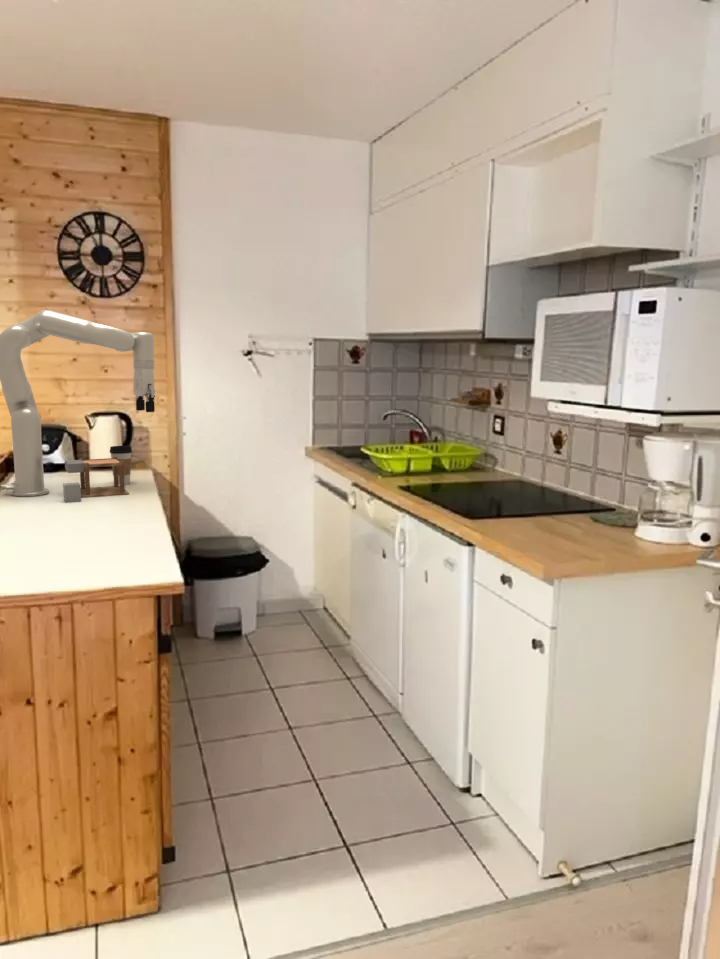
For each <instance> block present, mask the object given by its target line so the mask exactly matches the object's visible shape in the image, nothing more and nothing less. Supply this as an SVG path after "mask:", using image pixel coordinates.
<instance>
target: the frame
mask: <svg viewBox="0 0 720 959" xmlns="http://www.w3.org/2000/svg"><path fill="white" fill-rule="evenodd" d="M107 459H116V460H117V457H113V458H110V457H109V458H92V459H90V458H89V459H87V458H86V459H84V458H82V457H81V458H79V459H78V460H82V461H87V460H107ZM112 466H113V470H112V474H113V473H114V476H113V485H109V486H108V485H107V486H96V487H95V486H92V487H91V484H90V483H91V482H90V468H101V467H103V468H105V467H112ZM118 466H119V474H120V485H118ZM84 471H85V472H79V478H80V479H79V480H80V482H79V484H80V490H81V499H84V498H97V497H112V496H125V495H130V492H129V491H128V490H127V489H125V488H126V486H125V485H126V484H125V483H124V461H119V463H103V464H89V463H84Z"/></svg>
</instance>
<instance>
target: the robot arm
mask: <svg viewBox="0 0 720 959" xmlns="http://www.w3.org/2000/svg"><path fill="white" fill-rule="evenodd" d="M50 336H53V337H56V338H60V339H61V338H62V339H65V340H68V341H73V342H77V343H81V344H88V345H90V344H91V345H96V346H100V347H105V348H109V349H113V350H115V351H117V352H120V353H121V352H123V353H125V352H131V351H132V357H133V358H132V360H133V362H132V363H133V364H132V365H133V370H134V372H133V391H132V392H133V394H134V396H135V410H136V411H137V412H138V411H139V412H140V411H145V412H146V413H154V412H155V411H156V410H155V408H156V407H155V401H156V400H155V397H156V395H155V394H156V393H155V392H156V390H155V389H156V388H155V376H154V370H155V344H154V335H153V333H151V332H147V331H146V332H145V331H144V332H143V331H137V332H136V331H135V332H129V331H127V330H125V329H120V328H116V327H113V326H110V325H109V326H108V325H104V324H102V323H98V322H94V321H91V320H88V319H85V318H81V317H76V316H73V315H70V314H65V313H62V312H58V311H55V310H51V309H50V310H49V309H42V310H40V311H39V312H37V313H36V314H34V315H33V316H31V317H29V318H27V319H25V320H23V321H20V322H19V323H17V324H12V325H9V326H8V327H6V328H5V329H4V330H2V332H1V333H0V384H1V391H2V394H3V396H4V399H5V402H6V405H7V408H8V412H9V416H10V418H11V419H10V422H11V423H10V424H11V436H12V438H11V439H12V449H13V450H12V451H13V452H12V453H13V464H14V467H13V468H14V480H13V482H11V483H9V484H8V483H3V484H1V490H3V491H4V490H6V491H8V490H9V491H10V490H11V491H10V492H11V493H10V494H11V495H12V496H14V497H37V496H43V495H47V494H49V493H50V489H49V488H48V487H45V474H44V458H43V443H42V441H43V440H42V418H41V414H40V413H39V409H38V407H37V406H38V405H37V403H36V400H35V397H34V393H33V390H32V386H31V384H30V382H29V381H28V378H27V375H26V371H25V369H24V365H23V364H24V363H23V361H22V358H21V352H22V350H24V349H26V348H27V347H30V346H31V345H33V344H36V343H37V342H39V341H41V340H43V339H46V338H47V337H50ZM145 400H146V401H145Z"/></svg>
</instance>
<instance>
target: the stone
mask: <svg viewBox="0 0 720 959" xmlns="http://www.w3.org/2000/svg"><path fill="white" fill-rule="evenodd" d="M62 486H63V487H62V488H63V490H62V491H63V501H64V503H67V504H68V502H69V503H79V502H80V501H81V502H82V498H81V490H80V488H81V483H80V482H77V481H76V482H66V483H65V482H63V484H62Z"/></svg>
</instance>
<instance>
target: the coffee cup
mask: <svg viewBox="0 0 720 959" xmlns="http://www.w3.org/2000/svg"><path fill="white" fill-rule="evenodd" d="M109 453H110V457H111V458H113V457H117V460H118V461H124V483H125V485H129V484H131V469H132V453H133V450H132V445H130V444H127V445H126V444H125V445H112V446H110V448H109ZM111 469H112V471H113V466H111ZM112 476H113V477H114V473H113V472H112ZM118 486H120V474H119V466H118Z"/></svg>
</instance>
